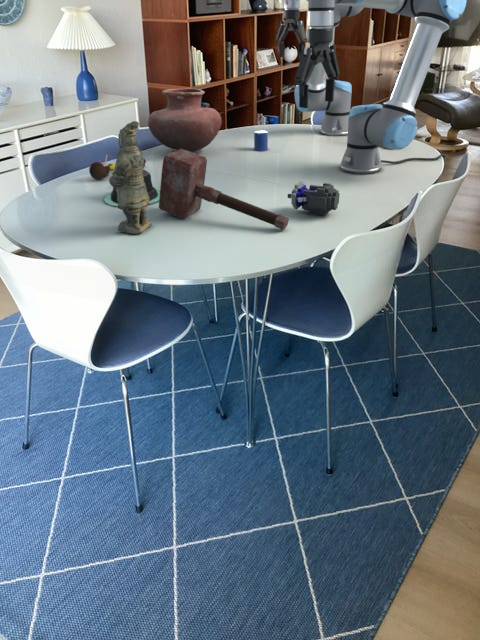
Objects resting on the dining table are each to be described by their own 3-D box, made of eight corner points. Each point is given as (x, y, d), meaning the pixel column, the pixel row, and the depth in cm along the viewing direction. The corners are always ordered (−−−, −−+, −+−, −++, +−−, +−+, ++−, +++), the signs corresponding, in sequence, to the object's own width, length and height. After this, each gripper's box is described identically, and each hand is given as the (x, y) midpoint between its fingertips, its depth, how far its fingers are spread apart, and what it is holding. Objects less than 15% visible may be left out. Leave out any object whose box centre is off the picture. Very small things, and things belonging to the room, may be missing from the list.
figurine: (152, 155, 217) (104, 161, 197) (152, 175, 220) (105, 183, 201) (127, 151, 223) (79, 157, 204) (128, 170, 226) (80, 177, 207)
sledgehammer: (299, 190, 156) (179, 147, 167) (285, 200, 148) (161, 154, 160) (286, 244, 166) (174, 200, 177) (272, 256, 158) (156, 209, 170)
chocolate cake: (91, 202, 180) (113, 186, 197) (142, 231, 182) (160, 212, 199) (107, 162, 172) (129, 148, 190) (160, 192, 174) (177, 176, 192)
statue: (131, 220, 168) (117, 116, 152) (158, 224, 164) (147, 118, 149) (109, 233, 159) (93, 124, 144) (138, 237, 156) (124, 126, 140)
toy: (295, 178, 172) (342, 184, 166) (295, 205, 177) (340, 211, 171) (285, 186, 166) (333, 192, 160) (284, 213, 170) (331, 220, 164)
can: (268, 148, 244) (268, 130, 240) (267, 151, 239) (267, 133, 235) (254, 147, 244) (254, 130, 241) (253, 151, 239) (253, 133, 236)
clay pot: (228, 143, 251) (226, 84, 239) (213, 161, 226) (210, 95, 213) (163, 142, 256) (158, 84, 243) (142, 159, 231) (135, 95, 218)
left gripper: (268, 9, 272) (268, 57, 283) (304, 9, 255) (302, 60, 266) (280, 9, 276) (279, 56, 287) (316, 8, 259) (314, 58, 270)
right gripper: (333, 25, 172) (329, 97, 183) (283, 29, 157) (282, 108, 167) (354, 25, 168) (348, 100, 179) (304, 30, 152) (302, 111, 163)
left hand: (290, 58), depth 276 cm, fingers open, 13 cm apart
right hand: (316, 104), depth 173 cm, fingers open, 13 cm apart
